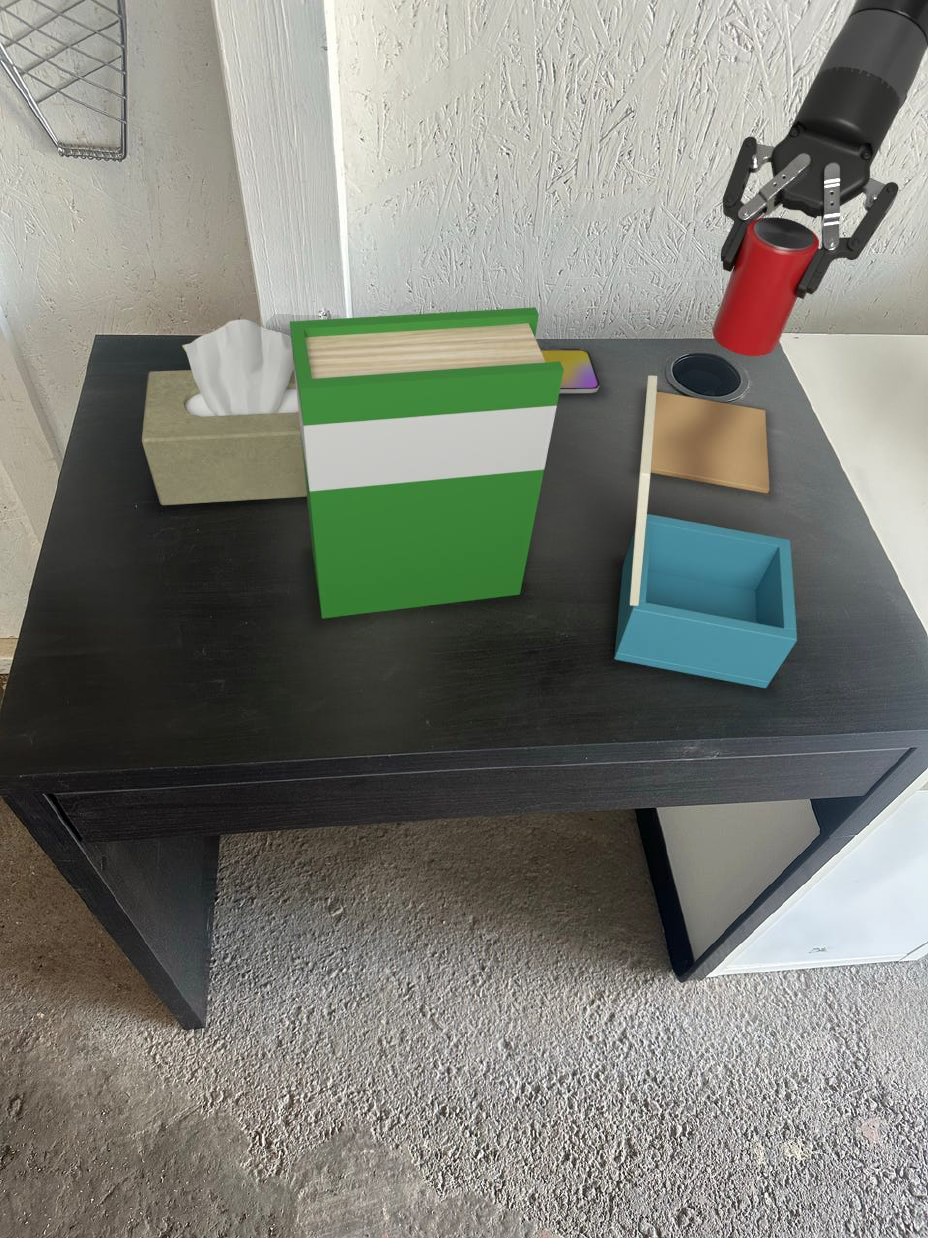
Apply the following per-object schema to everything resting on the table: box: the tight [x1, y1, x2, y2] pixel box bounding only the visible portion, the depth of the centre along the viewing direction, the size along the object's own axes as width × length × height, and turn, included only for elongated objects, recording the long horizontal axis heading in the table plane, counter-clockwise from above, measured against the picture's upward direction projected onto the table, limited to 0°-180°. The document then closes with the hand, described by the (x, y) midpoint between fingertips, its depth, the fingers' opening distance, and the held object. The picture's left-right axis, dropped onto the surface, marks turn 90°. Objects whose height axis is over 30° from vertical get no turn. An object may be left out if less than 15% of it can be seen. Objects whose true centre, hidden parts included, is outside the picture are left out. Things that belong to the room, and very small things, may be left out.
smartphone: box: [540, 348, 601, 394], centre depth 96 cm, size 7×1×15 cm
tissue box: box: [141, 319, 307, 506], centre depth 78 cm, size 19×10×16 cm, turn 99°
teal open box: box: [613, 513, 798, 689], centre depth 73 cm, size 13×11×7 cm
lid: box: [630, 375, 658, 606], centre depth 65 cm, size 14×11×1 cm
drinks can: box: [712, 216, 820, 357], centre depth 77 cm, size 6×6×10 cm
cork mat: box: [651, 391, 770, 494], centre depth 91 cm, size 13×13×1 cm
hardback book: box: [289, 307, 564, 619], centre depth 68 cm, size 18×7×24 cm, turn 102°
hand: (763, 280), depth 75 cm, fingers closed on drinks can, 6 cm apart
